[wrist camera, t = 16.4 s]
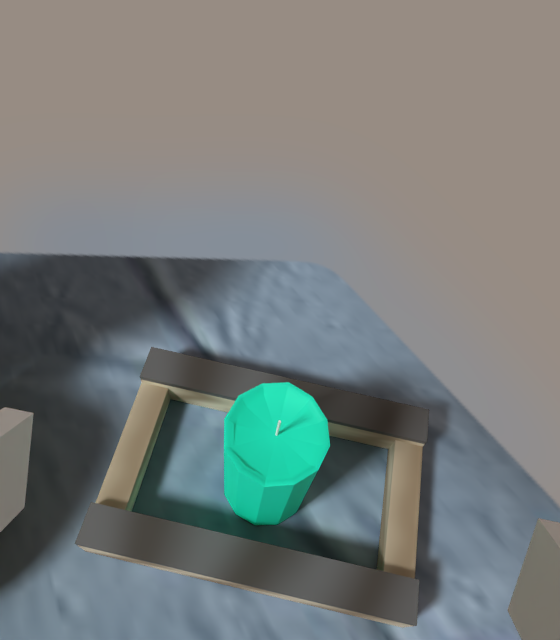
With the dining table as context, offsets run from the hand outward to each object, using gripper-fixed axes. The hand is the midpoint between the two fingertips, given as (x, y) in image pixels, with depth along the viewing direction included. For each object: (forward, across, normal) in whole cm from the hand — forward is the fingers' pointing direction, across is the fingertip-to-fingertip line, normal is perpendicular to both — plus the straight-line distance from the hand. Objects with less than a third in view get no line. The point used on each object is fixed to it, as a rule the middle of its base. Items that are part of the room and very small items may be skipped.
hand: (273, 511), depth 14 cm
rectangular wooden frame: (+22, 0, -12) cm, 25 cm away
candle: (+22, 0, -12) cm, 26 cm away
